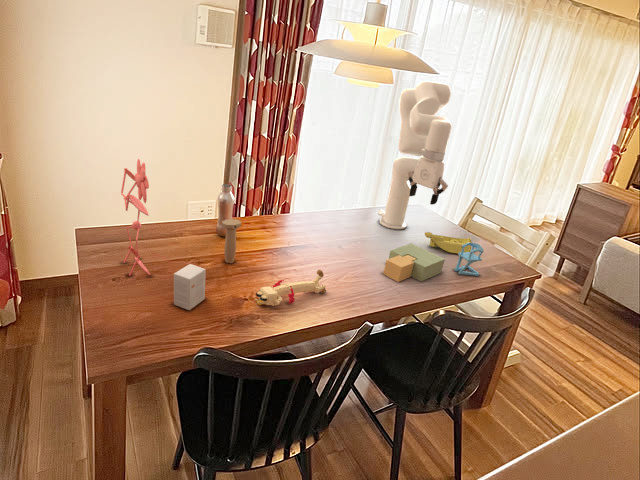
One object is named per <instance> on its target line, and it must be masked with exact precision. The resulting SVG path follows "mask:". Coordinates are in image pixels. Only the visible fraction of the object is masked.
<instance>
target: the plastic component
mask: <svg viewBox="0 0 640 480" xmlns="http://www.w3.org/2000/svg"><path fill="white" fill-rule="evenodd" d="M424 236H425V238H428V239H430V240H429V247H432V248H440V249H441V250H444V252H448V253H450V254H458V253H460V252H461V251H462V245H464V244H466V243H472V238H471V237H466V238H465V237H464V238H463V237H461V238H459V237H453V236H445V235H438V234H433V233H432V232H430V231H425V232H424ZM471 249H472V246H470V245H468V246H466V247H464V252H463V253H465V252H470V251H471Z"/></svg>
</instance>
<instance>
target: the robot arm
mask: <svg viewBox="0 0 640 480" xmlns="http://www.w3.org/2000/svg"><path fill="white" fill-rule="evenodd" d="M451 97H452V90H451V87H450V85H449V84H448V83H443V82H438V81H431V80H422V81H420V82H418V83H417V84H416V85H415V88H412V87H411V88H405V89H403V90H402V91H401V94H400V97H399V106H398V107H399V116H400V131H399V139H398V151H399V153H401V154H402V155H407V156H413V157H407V156H399V157H397V158H395V160H394V161H393V164H392V173H391V182H390V186H389V192H388V196H387V200H386V206H385V209H384V210H383V209H379V211H378V213H377V215H378V216H380V217H381V218H380V219H379V224H380V225H381V226H383V227H385V228H388V229H392V230H403V229H406V228H407V224H406V222H405V218H406V213H407V209H408V206H409V205H408V204H409V202H410V197H415V196H416V193H417V189H418V185H420V186H421V187H422V186H423V187H425V188H427V189H431V190H432V192H433V193H432V195H431V198H430V203H429V205H431V206H433V205H436V204H437V202H438V199H439V196H440V195H441V194H442V193H444V192H445V191H446V190H447V189H448V187H449V184H448V183H447V182H446V181H445V180H444V179H443V178H444V177H443V176H444V171H445V161H444V159H445V156H446V155H445V154H446V151H447V147H448V143H449V140H450V136H451V132H452V129H453V124H452V122H451V121H450V120H449V118H447V117H445V116H440V115H439V116H438V115H436V114H437V113H438V112H439V111H441V110H443V109H444V108H445V107H447V105H448V104H449V102H450V100H451ZM414 156H415V157H419V158H415V157H414ZM408 181H409V182H408ZM440 187H441V188H440Z"/></svg>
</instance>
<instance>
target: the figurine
mask: <svg viewBox="0 0 640 480" xmlns="http://www.w3.org/2000/svg"><path fill="white" fill-rule="evenodd" d="M123 172H124V173H123V177H122V184H121V190H120V193H121V196H122V197H123V200H124V206H125V208H124V209H125V211H126V212H128V210H129V203H130V204H131V205H133V206H134V207H135V208H136V209H137V220H134V221H133V222H132V224H131V225H130V226H126V232H127V235H128V239H129V243H130V245H128V246H127V247H128V252H127V254H126V256H125V258H124V260H123V262H122V263H123V264H126V262H127V260H128V258H129V256H130V254H131V253H132V254H133V255H134V260H135V262H134V264H133V265H132V268H131V269H130V272H129V273H128V276H129V277H131V276H132V274H133V272H134V270H135V269H136V266H137V264H138V266H139V267H140V269H142V270H143V271H144V272H145V274H147V275H148V276H151V273H150V271H149V270H148V269H147V267H146V266H145V264H144V263H143V262H142V261H141V260H140V257H141V255H140V253H139V246H138V244H139V243H138V239H139V233H140V230H141V228H142V223H141V222H140V213H141V214H144V215H145V216H147V217H148V216H150V214H149V212H148V210H147V208H146V206H145V205H144V204H146V203H147V200H148V191H147V190H148V189H149V188H150V183H149V179H148V177H147V175H146V173H147V172H146V163H145V162H144V161H143V162H142V163H141V160H140V158H137V161H136V173H135V174H133V173H132V172H131V171H130V170H129V169H128V168H127V167H125V168H123ZM127 176H128V177H129V178H131V179H132V181H134V183H133V185H132V187H131V188H130V190H129V191H128V192H127V195H125V194H124V189H125V183H126V177H127ZM135 187H137V196H138V197H136V195H133V194H131V193H132V192H133V190H134V189H135ZM141 200H143V202H142V201H141ZM130 228H132V229H133V230H136V231H137V232H136V237H135V238H136V239H135V245H136V247H134V246H133V244H132V239H131V235H130V231H129V229H130ZM135 248H136V249H135ZM151 254H153V255H156V256H159V257H161V258H164V259H165V260H167V258H166V257H165V256H163V255H160V254H157V253H153V252H151ZM170 264H172V261H170ZM171 270H172V269H170V271H171Z"/></svg>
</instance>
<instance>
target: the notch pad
mask: <svg viewBox="0 0 640 480" xmlns="http://www.w3.org/2000/svg"><path fill="white" fill-rule="evenodd" d="M398 255H400V256H402V257H403V256H406V255H409V256H411V257H413V258H416V260H415V261H413V262H414V266H413V269H412V273H411V277H410V278H413V279H415V280H417V281H419V282H423V281H426V280H428V279H430V278H432V277H434V276H438V275H439V274H441V273H442V271H443V267H444V263H445V260H446V259H445V258H444V257H443V256H440V255H438V254H436V253H433V252H431V251H430V250H426V249H424V248H422V247H420V246H418V245H416V244H414V243H408V244H405V245H402V246H399V247H397V248H396V247H395V248H394V249H391V250H390V251H389V255H388V259H390V258H393V257H396V256H398Z"/></svg>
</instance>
